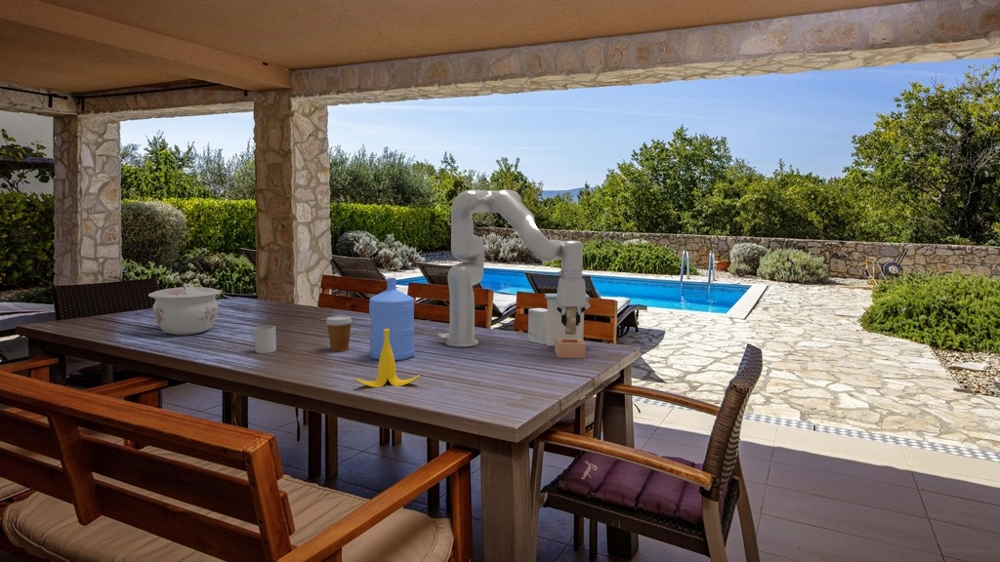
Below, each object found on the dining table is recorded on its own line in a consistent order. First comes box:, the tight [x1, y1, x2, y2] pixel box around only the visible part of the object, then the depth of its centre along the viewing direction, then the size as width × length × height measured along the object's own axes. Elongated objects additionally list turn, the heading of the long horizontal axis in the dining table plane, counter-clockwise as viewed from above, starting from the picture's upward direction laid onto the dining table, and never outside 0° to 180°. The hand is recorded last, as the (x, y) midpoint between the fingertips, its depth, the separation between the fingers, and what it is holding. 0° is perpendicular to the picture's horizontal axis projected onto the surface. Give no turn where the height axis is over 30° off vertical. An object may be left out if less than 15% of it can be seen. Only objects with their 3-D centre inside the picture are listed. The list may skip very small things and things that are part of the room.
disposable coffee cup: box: [325, 315, 353, 352], centre depth 235 cm, size 10×10×12 cm
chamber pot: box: [148, 282, 222, 336], centre depth 266 cm, size 28×28×21 cm
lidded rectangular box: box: [544, 293, 591, 347], centre depth 242 cm, size 16×8×20 cm, turn 91°
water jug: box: [368, 277, 415, 362], centre depth 225 cm, size 16×16×28 cm
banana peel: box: [355, 329, 421, 388], centre depth 191 cm, size 17×19×17 cm
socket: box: [554, 338, 587, 359], centre depth 231 cm, size 10×10×5 cm
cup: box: [254, 325, 277, 355], centre depth 233 cm, size 7×10×9 cm
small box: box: [527, 307, 547, 345], centre depth 253 cm, size 8×6×13 cm
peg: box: [565, 307, 577, 335], centre depth 230 cm, size 4×4×12 cm
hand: (570, 324), depth 230 cm, fingers closed on peg, 4 cm apart
